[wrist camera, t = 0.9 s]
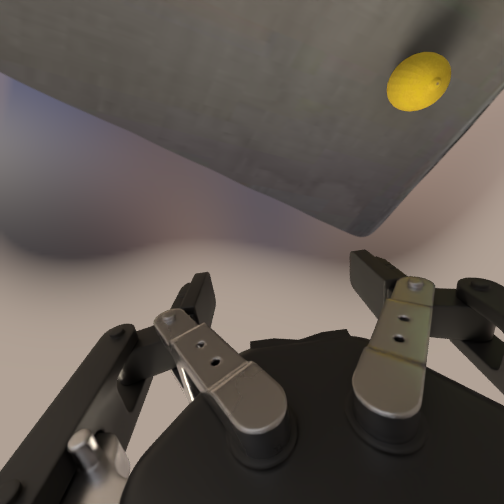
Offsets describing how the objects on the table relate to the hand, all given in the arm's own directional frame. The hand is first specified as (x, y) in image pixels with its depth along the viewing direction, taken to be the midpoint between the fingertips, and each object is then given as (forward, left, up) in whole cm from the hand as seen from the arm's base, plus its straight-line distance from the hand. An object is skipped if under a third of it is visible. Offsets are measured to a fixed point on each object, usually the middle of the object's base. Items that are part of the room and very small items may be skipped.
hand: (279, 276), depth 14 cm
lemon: (-4, +18, -28) cm, 34 cm away
